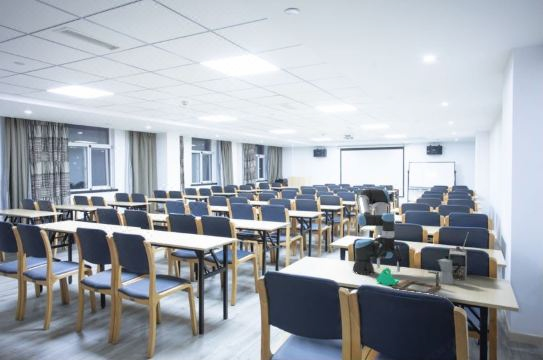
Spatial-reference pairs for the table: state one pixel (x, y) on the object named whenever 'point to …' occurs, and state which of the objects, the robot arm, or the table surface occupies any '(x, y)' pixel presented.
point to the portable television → (461, 258)
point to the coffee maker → (447, 270)
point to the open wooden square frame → (407, 282)
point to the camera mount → (387, 278)
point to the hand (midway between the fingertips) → (388, 270)
